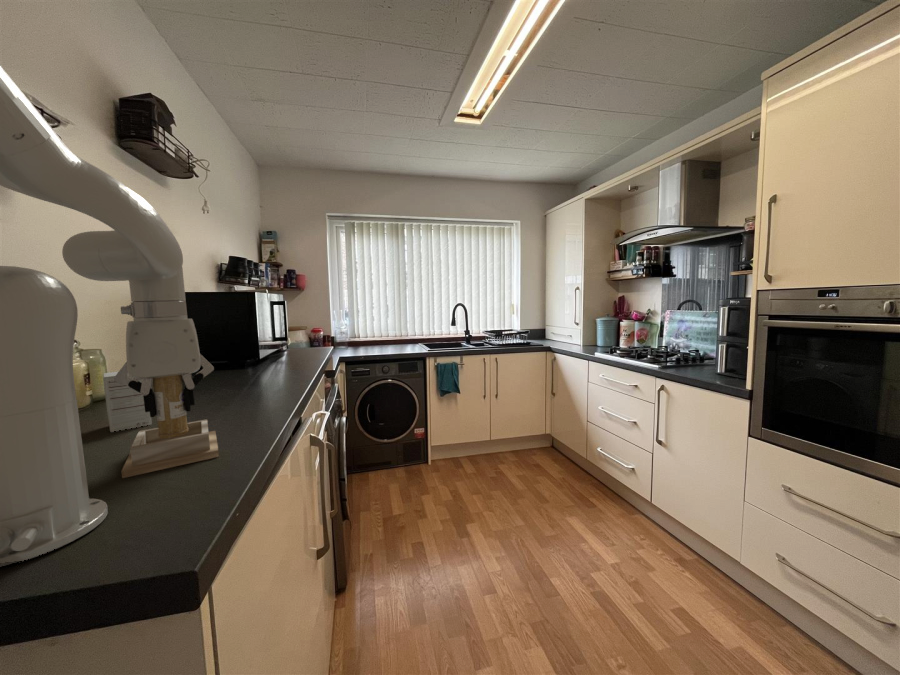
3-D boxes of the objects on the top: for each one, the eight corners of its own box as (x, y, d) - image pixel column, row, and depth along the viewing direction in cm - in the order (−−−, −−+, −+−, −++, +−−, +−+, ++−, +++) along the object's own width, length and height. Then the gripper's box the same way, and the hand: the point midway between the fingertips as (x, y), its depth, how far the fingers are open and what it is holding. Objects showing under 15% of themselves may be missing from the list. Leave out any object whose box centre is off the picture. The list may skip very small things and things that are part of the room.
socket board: (218, 456, 65) (216, 433, 64) (122, 478, 57) (119, 452, 57) (215, 436, 75) (214, 416, 75) (133, 452, 68) (131, 430, 68)
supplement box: (109, 425, 85) (103, 372, 84) (150, 418, 90) (144, 368, 89) (108, 433, 79) (102, 376, 78) (152, 425, 84) (146, 371, 83)
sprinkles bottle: (188, 435, 66) (180, 362, 64) (156, 441, 63) (147, 365, 62) (189, 428, 69) (182, 359, 68) (159, 433, 67) (151, 361, 66)
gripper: (89, 314, 56) (104, 428, 58) (218, 310, 66) (227, 408, 67) (100, 313, 62) (112, 417, 64) (216, 310, 72) (224, 400, 74)
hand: (171, 411), depth 66 cm, fingers closed on sprinkles bottle, 4 cm apart
